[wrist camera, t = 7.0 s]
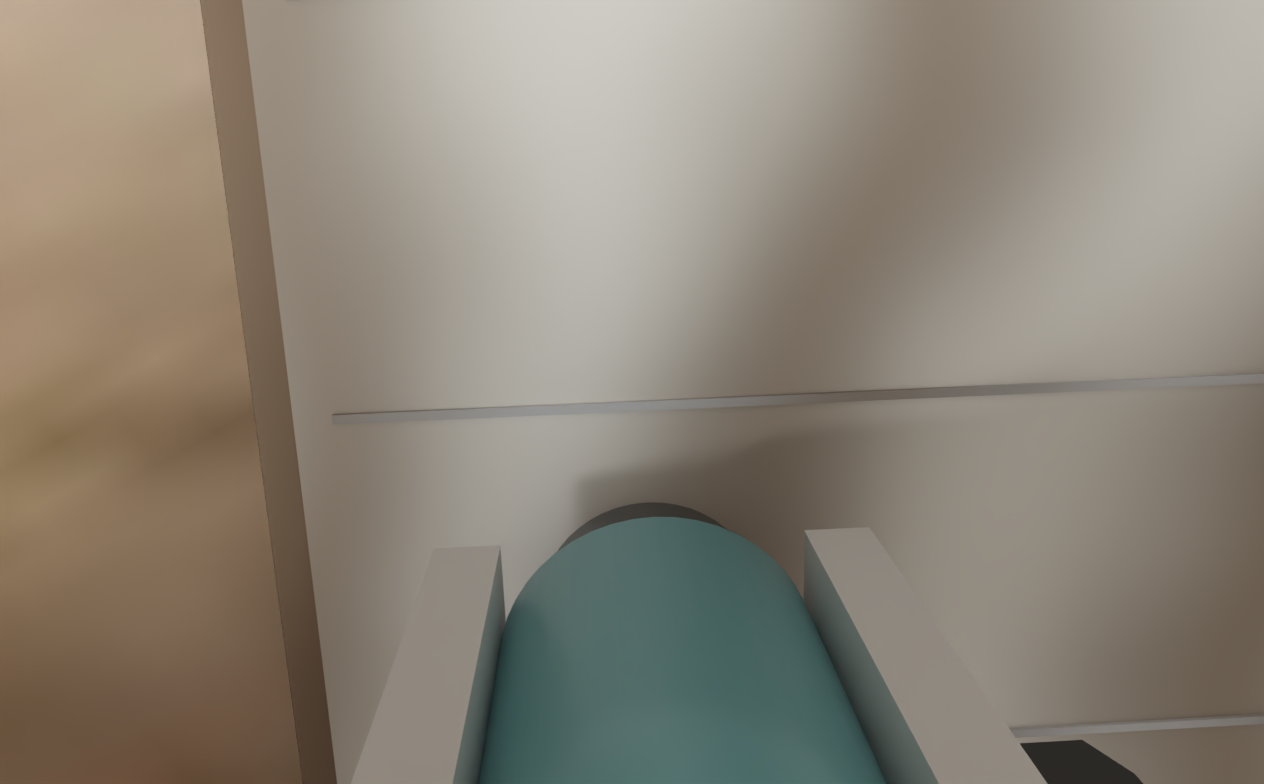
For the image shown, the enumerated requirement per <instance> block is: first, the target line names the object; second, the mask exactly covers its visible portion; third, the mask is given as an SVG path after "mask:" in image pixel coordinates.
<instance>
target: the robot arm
mask: <svg viewBox="0 0 1264 784" xmlns="http://www.w3.org/2000/svg"><path fill="white" fill-rule="evenodd" d="M804 602H805V604H806V606H807V609H808V611H809V613H810V615H811V617H812V620H813V622H814V624H815V626H816V628H817V630H818V633H819V635H820V637H821V639H822V641H823V644H824V646H825V648H826V650H827V652H828V655H829V657H830V659H831V661H832V663H833V666H834V668H835V670H836V672H837V674H838V677H839V679H840V681H841V683H842V685H843V688H844V690H845V692H846V694H847V696H848V699H849V701H850V703H851V705H852V707H853V710H854V712H855V714H856V716H857V718H858V721H859V723H860V725H861V727H862V729H863V732H864V734H865V736H866V738H867V740H868V743H869V745H870V747H871V749H872V751H873V754H874V756H875V758H876V760H877V762H878V765H879V767H880V769H881V771H882V773H883V776H884V778H885V780H886V782H887V784H1143V783H1142V782H1141V780H1140V779H1139V778H1138V777H1137V776H1136V774H1134V773H1133V772H1131V771H1130V770H1128V769H1127V768H1125V767H1124V766H1122V765H1120V764H1119V763H1117V762H1116V761H1114V760H1113V759H1111V758H1110V757H1108V756H1107V755H1105V754H1103V753H1102V752H1100V751H1099V750H1097V749H1096V748H1094V747H1093V746H1091V745H1090V744H1088V743H1086V742H1085V741H1083V740H1069V741H1051V742H1033V743H1019V742H1018V740H1017V739H1016V738H1015V736H1014V735H1013V733H1012V732H1011V730H1010V729H1009V728H1008V726H1007V725H1006V723H1005V722H1004V720H1003V719H1002V717H1001V716H1000V715H999V713H998V712H997V710H996V709H995V707H994V706H993V705H992V703H991V702H990V700H989V699H988V697H987V696H986V694H985V693H984V692H983V690H982V689H981V687H980V686H979V684H978V683H977V682H976V680H975V679H974V677H973V676H972V674H971V673H970V671H969V670H968V669H967V667H966V666H965V664H964V663H963V661H962V660H961V659H960V657H959V656H958V654H957V653H956V651H955V650H954V648H953V647H952V646H951V644H950V643H949V641H948V640H947V638H946V637H945V636H944V634H943V633H942V631H941V630H940V628H939V627H938V625H937V624H936V623H935V621H934V620H933V618H932V617H931V615H930V614H929V613H928V611H927V610H926V608H925V607H924V605H923V604H922V602H921V601H920V600H919V598H918V597H917V595H916V594H915V592H914V591H913V590H912V588H911V587H910V585H909V584H908V582H907V581H906V579H905V578H904V577H903V575H902V574H901V572H900V571H899V569H898V568H897V567H896V565H895V564H894V562H893V561H892V559H891V558H890V556H889V555H888V554H887V552H886V551H885V549H884V548H883V546H882V545H881V544H880V542H879V541H878V539H877V538H876V536H875V535H874V533H873V532H872V531H871V529H870V528H869V527H859V528H839V529H819V530H804ZM505 623H506V616H505V602H504V588H503V574H502V560H501V547H500V545H495V546H475V547H455V548H434V550H433V553H432V556H431V559H430V561H429V564H428V567H427V570H426V573H425V576H424V578H423V581H422V584H421V587H420V590H419V593H418V595H417V598H416V601H415V604H414V607H413V609H412V612H411V615H410V618H409V621H408V624H407V626H406V629H405V632H404V635H403V638H402V640H401V643H400V646H399V649H398V652H397V655H396V657H395V660H394V663H393V666H392V669H391V672H390V674H389V677H388V680H387V683H386V686H385V688H384V691H383V694H382V697H381V700H380V703H379V705H378V708H377V711H376V714H375V717H374V719H373V722H372V725H371V728H370V731H369V734H368V736H367V739H366V742H365V745H364V748H363V751H362V753H361V756H360V759H359V762H358V765H357V767H356V770H355V773H354V776H353V779H352V782H351V784H478V780H479V774H480V768H481V762H482V756H483V750H484V744H485V737H486V731H487V725H488V719H489V713H490V707H491V700H492V694H493V688H494V682H495V676H496V670H497V664H498V657H499V651H500V645H501V639H502V633H503V630H504V627H505Z"/></svg>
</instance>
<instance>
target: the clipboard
mask: <svg viewBox="0 0 1264 784" xmlns="http://www.w3.org/2000/svg"><path fill="white" fill-rule="evenodd" d="M200 3H201V11H202V19H203V26H204V34H205V42H206V49H207V57H208V64H209V72H210V80H211V87H212V95H213V103H214V110H215V118H216V125H217V133H218V141H219V148H220V156H221V164H222V171H223V179H224V186H225V194H226V202H227V209H228V217H229V225H230V232H231V240H232V247H233V255H234V263H235V270H236V278H237V286H238V293H239V301H240V308H241V316H242V324H243V331H244V339H245V347H246V354H247V362H248V369H249V377H250V385H251V392H252V400H253V408H254V415H255V423H256V430H257V438H258V446H259V453H260V461H261V469H262V476H263V484H264V491H265V499H266V507H267V514H268V522H269V530H270V537H271V545H272V552H273V560H274V568H275V575H276V583H277V591H278V598H279V606H280V613H281V621H282V629H283V636H284V644H285V652H286V659H287V667H288V674H289V682H290V690H291V697H292V705H293V713H294V720H295V728H296V735H297V743H298V751H299V758H300V766H301V774H302V781H303V784H351V782H352V779H353V776H354V773H355V770H356V767H357V765H358V762H359V759H360V756H361V753H362V751H363V748H364V745H365V742H366V739H367V736H368V734H369V731H370V728H371V725H372V722H373V719H374V717H375V714H376V711H377V708H378V705H379V703H380V700H381V697H382V694H383V691H384V688H385V686H386V683H387V680H388V677H389V674H390V672H391V669H392V666H393V663H394V660H395V657H396V655H397V652H398V649H399V646H400V643H401V640H402V638H403V635H404V632H405V629H406V626H407V624H408V621H409V618H410V615H411V612H412V609H413V607H414V604H415V601H416V598H417V595H418V593H419V590H420V587H421V584H422V581H423V578H424V576H425V573H426V570H427V567H428V564H429V561H430V559H431V556H432V553H433V550H434V548H455V547H475V546H495V545H500V547H501V560H502V574H503V588H504V602H505V616H506V620H507V617H508V615H509V613H510V610H511V608H512V606H513V604H514V602H515V600H516V598H517V596H518V595H519V593H520V592H521V590H522V589H523V587H524V586H525V584H526V583H527V581H528V580H529V579H530V578H531V577H532V575H533V574H534V573H535V572H536V571H537V570H538V568H539V567H540V566H541V565H543V564H544V563H545V562H546V561H547V560H548V559H549V558H550V557H551V556H553V555H554V554H555V553H556V552H557V551H558V549H559V548H560V547H561V546H562V544H563V543H564V542H565V541H566V540H567V539H568V537H569V536H570V535H572V534H573V533H574V532H575V531H576V530H577V529H578V528H579V527H581V526H582V525H584V524H585V523H587V522H588V521H589V520H591V519H593V518H595V517H597V516H598V515H600V514H602V513H604V512H607V511H610V510H612V509H615V508H618V507H622V506H626V505H630V504H637V503H646V502H654V503H668V504H675V505H680V506H683V507H687V508H691V509H693V510H695V511H698V512H700V513H703V514H705V515H706V516H708V517H710V518H712V519H713V520H715V521H717V522H718V523H719V524H721V525H722V526H723V527H725V528H726V529H727V530H729V531H732V532H734V533H736V534H738V535H740V536H742V537H743V538H745V539H747V540H749V541H750V542H752V543H754V544H755V545H757V546H758V547H759V548H760V549H762V550H763V551H764V552H766V553H767V554H768V555H770V556H771V557H772V558H773V559H774V560H775V561H776V562H777V563H778V564H779V565H780V566H781V567H782V568H783V570H784V571H785V572H786V573H787V575H788V576H789V577H790V579H791V580H792V581H793V583H794V584H795V585H796V587H797V589H798V591H799V593H800V595H801V596H802V598H803V600H804V530H819V529H839V528H859V527H869V528H870V529H871V531H872V532H873V533H874V535H875V536H876V538H877V539H878V541H879V542H880V544H881V545H882V546H883V548H884V549H885V551H886V552H887V554H888V555H889V556H890V558H891V559H892V561H893V562H894V564H895V565H896V567H897V568H898V569H899V571H900V572H901V574H902V575H903V577H904V578H905V579H906V581H907V582H908V584H909V585H910V587H911V588H912V590H913V591H914V592H915V594H916V595H917V597H918V598H919V600H920V601H921V602H922V604H923V605H924V607H925V608H926V610H927V611H928V613H929V614H930V615H931V617H932V618H933V620H934V621H935V623H936V624H937V625H938V627H939V628H940V630H941V631H942V633H943V634H944V636H945V637H946V638H947V640H948V641H949V643H950V644H951V646H952V647H953V648H954V650H955V651H956V653H957V654H958V656H959V657H960V659H961V660H962V661H963V663H964V664H965V666H966V667H967V669H968V670H969V671H970V673H971V674H972V676H973V677H974V679H975V680H976V682H977V683H978V684H979V686H980V687H981V689H982V690H983V692H984V693H985V694H986V696H987V697H988V699H989V700H990V702H991V703H992V705H993V706H994V707H995V709H996V710H997V712H998V713H999V715H1000V716H1001V717H1002V719H1003V720H1004V722H1005V723H1006V725H1007V726H1008V728H1009V729H1010V730H1011V732H1012V733H1013V735H1014V736H1015V738H1016V739H1017V740H1018V742H1019V743H1033V742H1051V741H1069V740H1083V741H1085V742H1086V743H1088V744H1090V745H1091V746H1093V747H1094V748H1096V749H1097V750H1099V751H1100V752H1102V753H1103V754H1105V755H1107V756H1108V757H1110V758H1111V759H1113V760H1114V761H1116V762H1117V763H1119V764H1120V765H1122V766H1124V767H1125V768H1127V769H1128V770H1130V771H1131V772H1133V773H1134V774H1136V776H1137V777H1138V778H1139V779H1140V780H1141V782H1142V783H1143V784H1264V0H200Z"/></svg>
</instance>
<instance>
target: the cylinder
mask: <svg viewBox="0 0 1264 784" xmlns="http://www.w3.org/2000/svg"><path fill="white" fill-rule="evenodd" d="M478 784H887V782H886V780H885V778H884V776H883V773H882V771H881V769H880V767H879V765H878V762H877V760H876V758H875V756H874V754H873V751H872V749H871V747H870V745H869V743H868V740H867V738H866V736H865V734H864V732H863V729H862V727H861V725H860V723H859V721H858V718H857V716H856V714H855V712H854V710H853V707H852V705H851V703H850V701H849V699H848V696H847V694H846V692H845V690H844V688H843V685H842V683H841V681H840V679H839V677H838V674H837V672H836V670H835V668H834V666H833V663H832V661H831V659H830V657H829V655H828V652H827V650H826V648H825V646H824V644H823V641H822V639H821V637H820V635H819V633H818V630H817V628H816V626H815V624H814V622H813V620H812V617H811V615H810V613H809V611H808V609H807V606H806V604H805V602H804V600H803V598H802V596H801V595H800V593H799V591H798V589H797V587H796V585H795V584H794V583H793V581H792V580H791V579H790V577H789V576H788V575H787V573H786V572H785V571H784V570H783V568H782V567H781V566H780V565H779V564H778V563H777V562H776V561H775V560H774V559H773V558H772V557H771V556H770V555H768V554H767V553H766V552H764V551H763V550H762V549H760V548H759V547H758V546H757V545H755V544H754V543H752V542H750V541H749V540H747V539H745V538H743V537H742V536H740V535H738V534H736V533H734V532H732V531H729V530H727V529H726V528H725V527H723V526H722V525H721V524H719V523H718V522H717V521H715V520H713V519H712V518H710V517H708V516H706V515H705V514H703V513H700V512H698V511H695V510H693V509H691V508H687V507H683V506H680V505H675V504H668V503H654V502H646V503H637V504H630V505H626V506H622V507H618V508H615V509H612V510H610V511H607V512H604V513H602V514H600V515H598V516H597V517H595V518H593V519H591V520H589V521H588V522H587V523H585V524H584V525H582V526H581V527H579V528H578V529H577V530H576V531H575V532H574V533H573V534H572V535H570V536H569V537H568V539H567V540H566V541H565V542H564V543H563V544H562V546H561V547H560V548H559V549H558V551H557V552H556V553H555V554H554V555H553V556H551V557H550V558H549V559H548V560H547V561H546V562H545V563H544V564H543V565H541V566H540V567H539V568H538V570H537V571H536V572H535V573H534V574H533V575H532V577H531V578H530V579H529V580H528V581H527V583H526V584H525V586H524V587H523V589H522V590H521V592H520V593H519V595H518V596H517V598H516V600H515V602H514V604H513V606H512V608H511V610H510V613H509V615H508V617H507V620H506V623H505V627H504V630H503V633H502V639H501V645H500V651H499V657H498V664H497V670H496V676H495V682H494V688H493V694H492V700H491V707H490V713H489V719H488V725H487V731H486V737H485V744H484V750H483V756H482V762H481V768H480V774H479V780H478Z"/></svg>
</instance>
